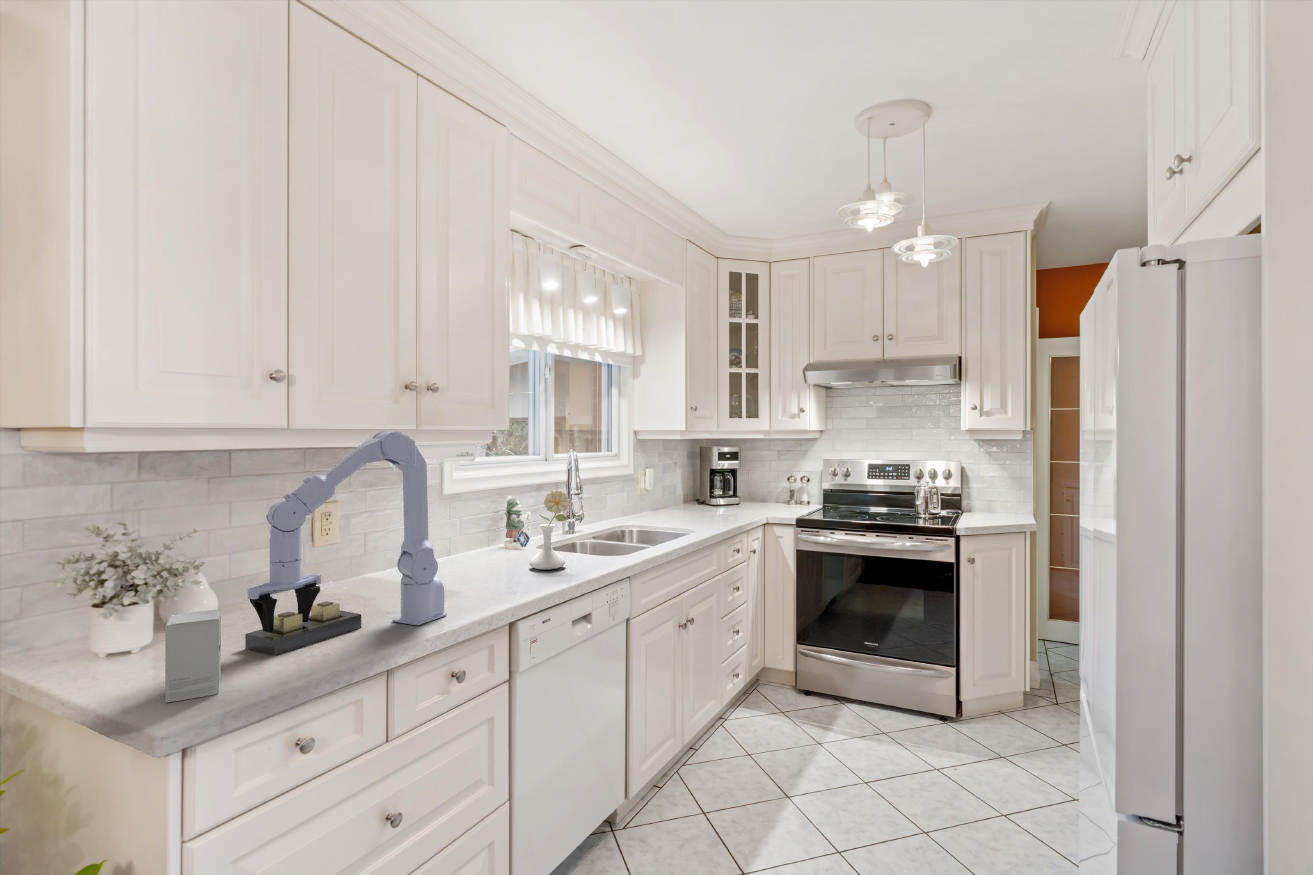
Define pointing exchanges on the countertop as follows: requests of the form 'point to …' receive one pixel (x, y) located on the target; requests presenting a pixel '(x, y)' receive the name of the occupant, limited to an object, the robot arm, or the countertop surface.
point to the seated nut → (325, 612)
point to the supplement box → (192, 655)
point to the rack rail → (301, 634)
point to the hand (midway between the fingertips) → (286, 626)
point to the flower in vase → (547, 555)
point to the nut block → (287, 623)
